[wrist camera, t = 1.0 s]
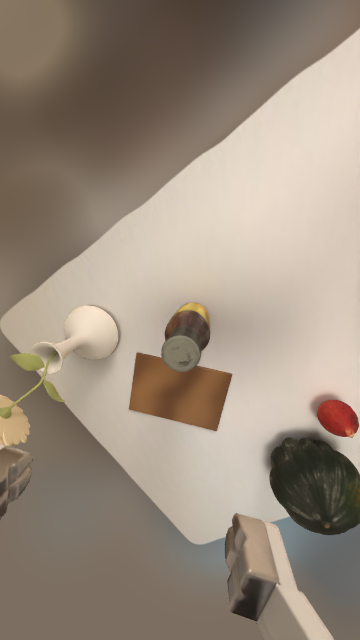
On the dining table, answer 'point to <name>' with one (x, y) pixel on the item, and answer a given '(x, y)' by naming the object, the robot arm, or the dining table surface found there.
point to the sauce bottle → (186, 337)
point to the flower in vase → (58, 363)
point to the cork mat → (179, 392)
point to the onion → (338, 418)
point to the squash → (316, 486)
